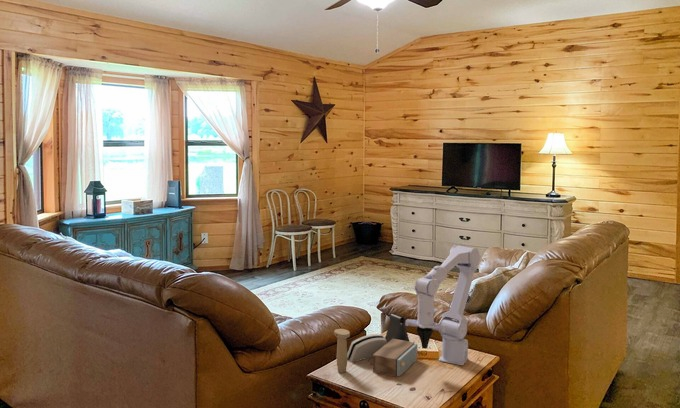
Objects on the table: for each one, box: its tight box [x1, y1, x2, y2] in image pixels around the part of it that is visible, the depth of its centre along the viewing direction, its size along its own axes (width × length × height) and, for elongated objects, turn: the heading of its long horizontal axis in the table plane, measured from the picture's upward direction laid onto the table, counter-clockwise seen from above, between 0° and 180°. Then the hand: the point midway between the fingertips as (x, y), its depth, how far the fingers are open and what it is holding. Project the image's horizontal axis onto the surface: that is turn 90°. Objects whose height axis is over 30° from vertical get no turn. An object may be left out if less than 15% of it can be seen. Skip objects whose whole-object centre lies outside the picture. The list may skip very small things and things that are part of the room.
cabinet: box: [372, 339, 415, 378], centre depth 210 cm, size 9×19×6 cm, turn 152°
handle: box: [333, 328, 351, 374], centre depth 203 cm, size 5×6×15 cm
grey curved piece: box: [347, 333, 387, 363], centre depth 218 cm, size 17×5×10 cm, turn 124°
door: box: [396, 343, 418, 377], centre depth 207 cm, size 2×18×6 cm, turn 152°
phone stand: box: [384, 313, 410, 344], centre depth 232 cm, size 9×6×12 cm, turn 126°
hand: (424, 347), depth 203 cm, fingers closed
